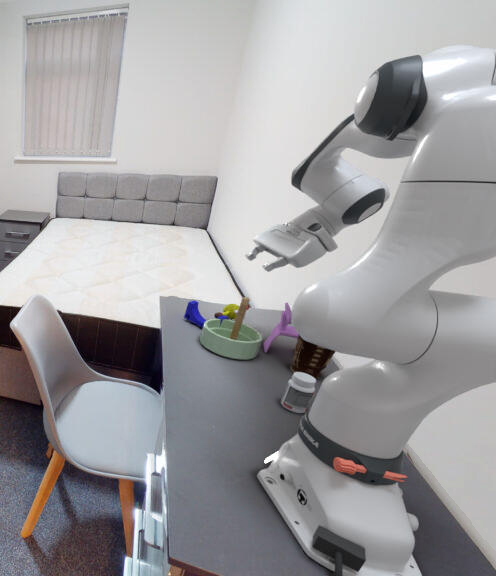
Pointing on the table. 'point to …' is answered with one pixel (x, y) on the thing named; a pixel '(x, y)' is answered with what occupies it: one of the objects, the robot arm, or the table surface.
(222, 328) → the bowl
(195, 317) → the blue curved piece
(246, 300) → the stirring stick
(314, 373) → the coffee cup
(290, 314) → the toy chair
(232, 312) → the toy figure
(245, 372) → the table surface
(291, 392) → the pill bottle
